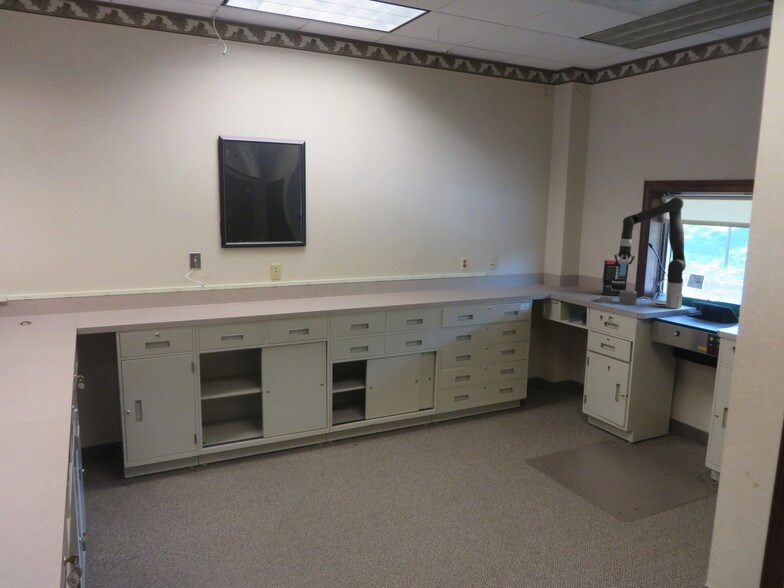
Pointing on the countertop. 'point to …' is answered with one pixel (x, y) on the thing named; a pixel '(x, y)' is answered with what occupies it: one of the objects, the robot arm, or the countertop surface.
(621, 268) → the plug
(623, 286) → the graphics card box
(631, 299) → the jack block
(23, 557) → the countertop surface
